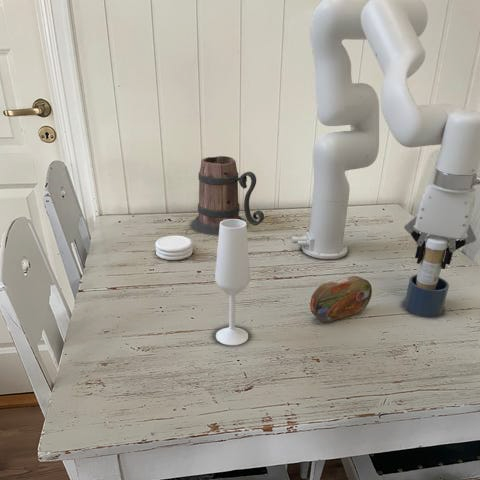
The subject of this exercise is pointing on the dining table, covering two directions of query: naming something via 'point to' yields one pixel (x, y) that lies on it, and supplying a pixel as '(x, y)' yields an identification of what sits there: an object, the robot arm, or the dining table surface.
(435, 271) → the sprinkles bottle
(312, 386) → the dining table surface
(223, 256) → the champagne flute
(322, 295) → the tin
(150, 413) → the dining table surface
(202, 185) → the tankard
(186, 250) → the white round stack
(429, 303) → the cup
